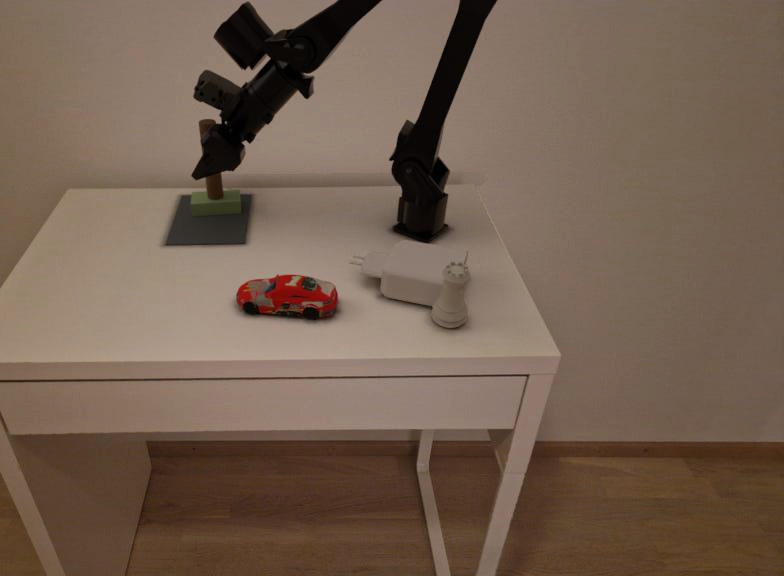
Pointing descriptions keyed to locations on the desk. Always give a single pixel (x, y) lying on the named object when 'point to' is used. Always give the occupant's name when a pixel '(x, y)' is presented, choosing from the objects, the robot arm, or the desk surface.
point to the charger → (411, 270)
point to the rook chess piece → (452, 297)
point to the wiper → (214, 191)
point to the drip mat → (208, 225)
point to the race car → (288, 296)
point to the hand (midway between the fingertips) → (201, 166)
